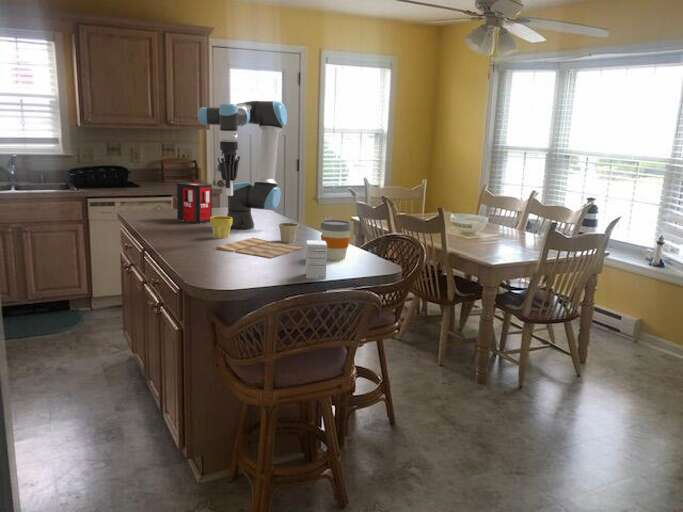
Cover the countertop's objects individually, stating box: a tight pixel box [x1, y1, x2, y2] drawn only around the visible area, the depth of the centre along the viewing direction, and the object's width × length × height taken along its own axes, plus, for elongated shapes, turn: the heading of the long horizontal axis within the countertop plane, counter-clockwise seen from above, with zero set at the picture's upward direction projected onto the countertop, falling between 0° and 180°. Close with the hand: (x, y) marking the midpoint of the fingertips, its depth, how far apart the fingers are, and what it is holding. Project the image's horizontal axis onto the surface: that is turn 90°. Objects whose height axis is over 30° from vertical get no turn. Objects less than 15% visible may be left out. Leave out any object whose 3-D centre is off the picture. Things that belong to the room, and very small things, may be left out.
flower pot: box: [277, 222, 300, 244], centre depth 272 cm, size 9×9×9 cm
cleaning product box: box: [176, 181, 213, 225], centre depth 317 cm, size 16×9×20 cm, turn 58°
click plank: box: [215, 237, 271, 253], centre depth 258 cm, size 26×9×1 cm, turn 152°
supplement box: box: [305, 239, 328, 280], centre depth 214 cm, size 7×7×13 cm
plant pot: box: [209, 215, 233, 240], centre depth 275 cm, size 10×10×10 cm
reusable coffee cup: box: [320, 219, 352, 261], centre depth 244 cm, size 13×12×15 cm
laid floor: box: [234, 241, 306, 259], centre depth 252 cm, size 26×18×1 cm
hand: (229, 195), depth 260 cm, fingers closed
